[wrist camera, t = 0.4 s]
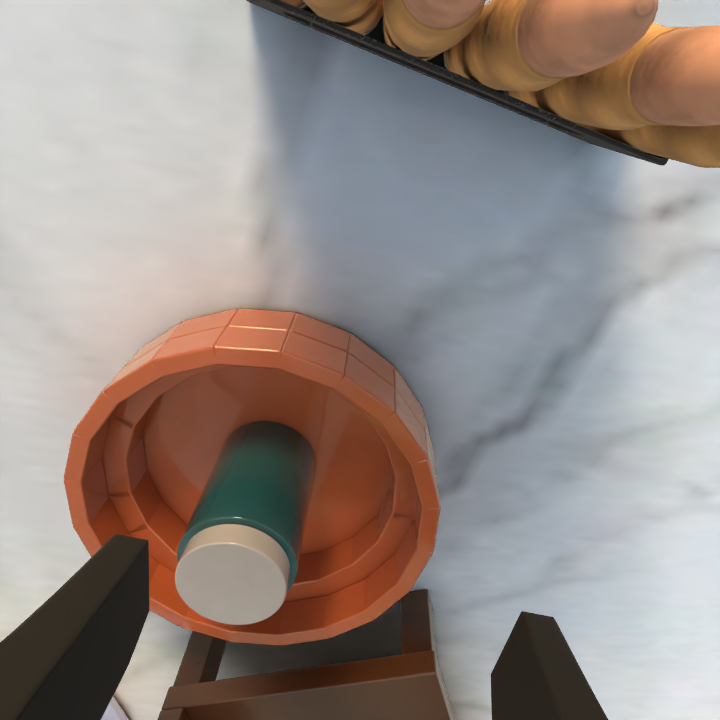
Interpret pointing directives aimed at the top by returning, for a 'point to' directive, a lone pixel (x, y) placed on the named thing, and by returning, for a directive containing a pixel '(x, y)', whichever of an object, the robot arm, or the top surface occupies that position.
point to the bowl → (251, 404)
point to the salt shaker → (248, 526)
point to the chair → (319, 682)
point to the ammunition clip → (552, 64)
